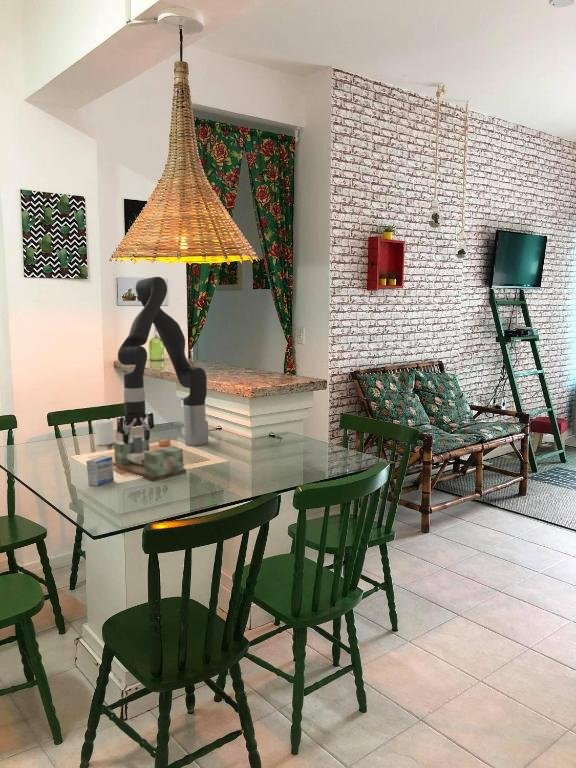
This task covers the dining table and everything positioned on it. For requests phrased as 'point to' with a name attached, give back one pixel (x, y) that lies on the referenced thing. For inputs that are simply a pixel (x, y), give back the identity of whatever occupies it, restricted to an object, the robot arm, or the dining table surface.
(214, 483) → the dining table surface
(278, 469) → the dining table surface
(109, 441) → the white cup
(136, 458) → the carriage
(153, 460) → the rail stand
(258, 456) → the dining table surface
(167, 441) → the button
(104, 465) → the medicine box
